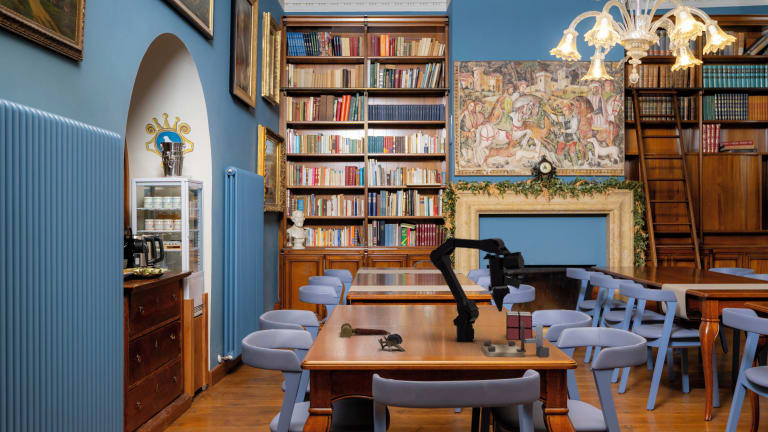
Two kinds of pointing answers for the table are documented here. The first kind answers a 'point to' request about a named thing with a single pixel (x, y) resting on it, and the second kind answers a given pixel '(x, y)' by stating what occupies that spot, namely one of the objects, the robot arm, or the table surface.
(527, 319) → the puzzle cube
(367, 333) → the gavel
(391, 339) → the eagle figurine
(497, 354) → the stool seat
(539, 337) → the folding leg
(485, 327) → the table surface
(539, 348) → the corner bracket
